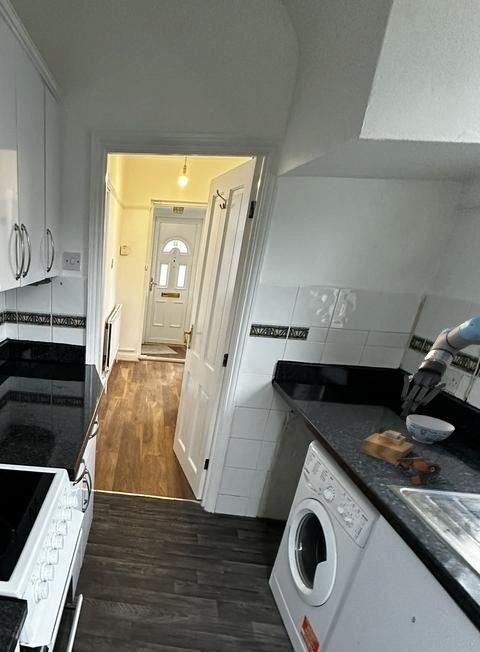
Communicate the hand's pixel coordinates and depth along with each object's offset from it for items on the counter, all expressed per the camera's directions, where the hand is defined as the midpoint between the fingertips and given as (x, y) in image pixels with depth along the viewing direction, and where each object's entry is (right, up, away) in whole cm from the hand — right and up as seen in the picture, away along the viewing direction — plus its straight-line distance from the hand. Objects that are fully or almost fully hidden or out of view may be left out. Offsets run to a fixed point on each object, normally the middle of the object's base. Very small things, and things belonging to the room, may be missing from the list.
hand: (402, 417), depth 146 cm
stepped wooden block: (-6, -13, +1) cm, 15 cm away
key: (-4, -7, 0) cm, 8 cm away
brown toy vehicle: (-7, -20, -13) cm, 25 cm away
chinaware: (+19, -9, +16) cm, 27 cm away
